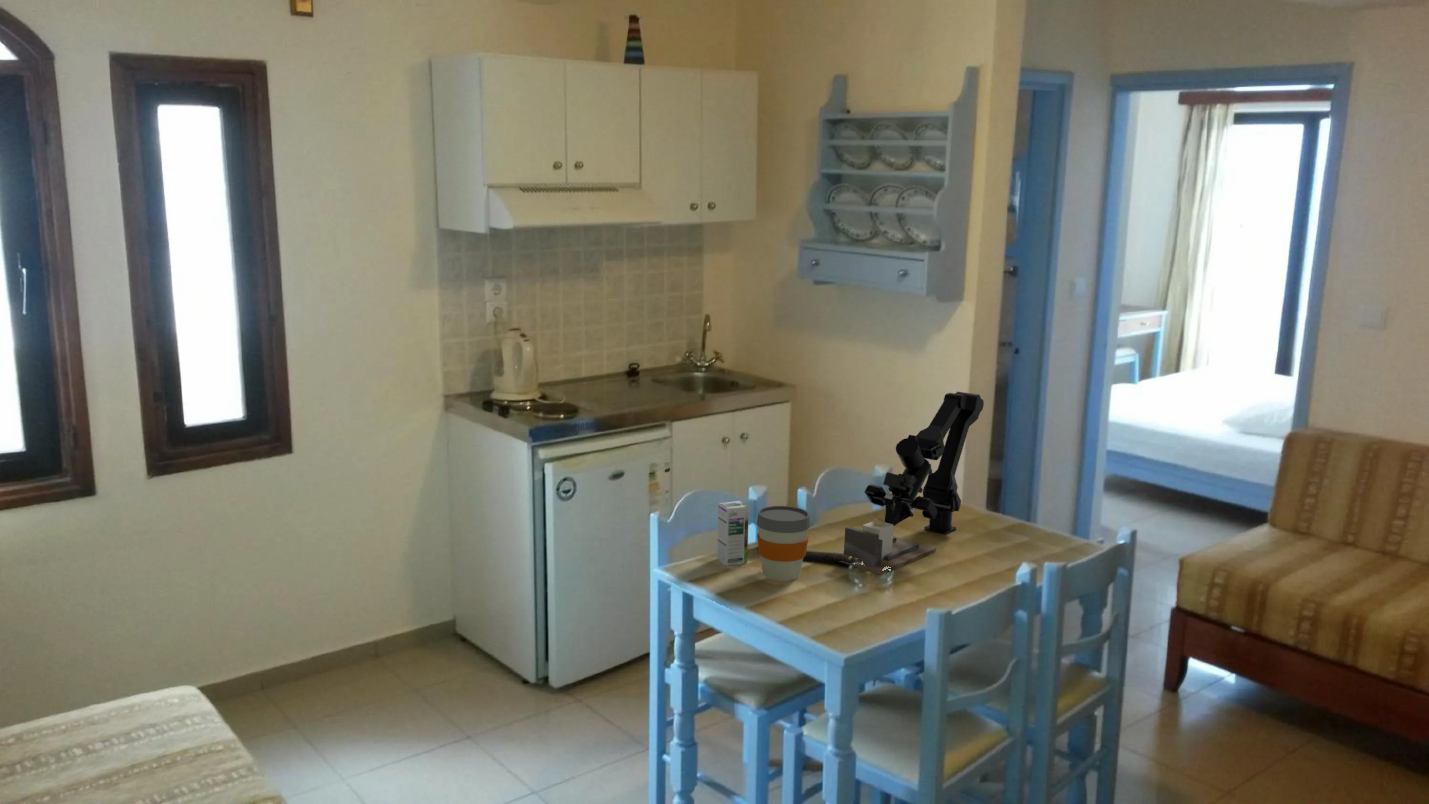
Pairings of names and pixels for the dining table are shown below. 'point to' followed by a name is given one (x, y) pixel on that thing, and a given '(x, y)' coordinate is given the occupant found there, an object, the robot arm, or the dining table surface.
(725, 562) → the syrup box
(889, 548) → the white block with knob
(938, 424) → the robot arm
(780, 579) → the reusable coffee cup
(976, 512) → the dining table surface
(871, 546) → the brown board with frame
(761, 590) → the dining table surface
